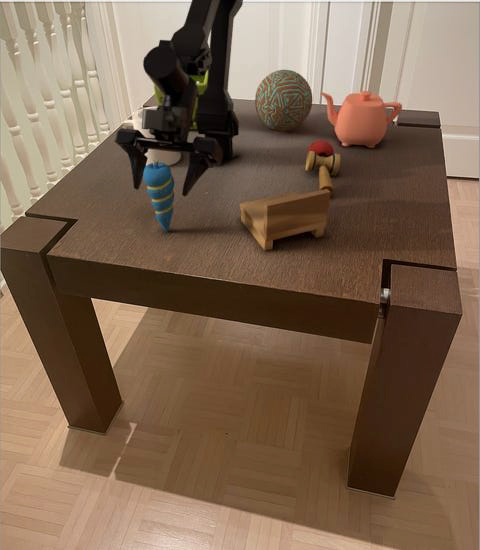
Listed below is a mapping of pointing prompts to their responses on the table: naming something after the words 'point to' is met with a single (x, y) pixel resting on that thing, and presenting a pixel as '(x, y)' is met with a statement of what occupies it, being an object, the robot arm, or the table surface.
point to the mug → (159, 155)
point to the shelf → (286, 216)
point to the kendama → (323, 163)
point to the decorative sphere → (283, 100)
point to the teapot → (361, 118)
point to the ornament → (160, 191)
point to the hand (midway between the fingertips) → (159, 192)
